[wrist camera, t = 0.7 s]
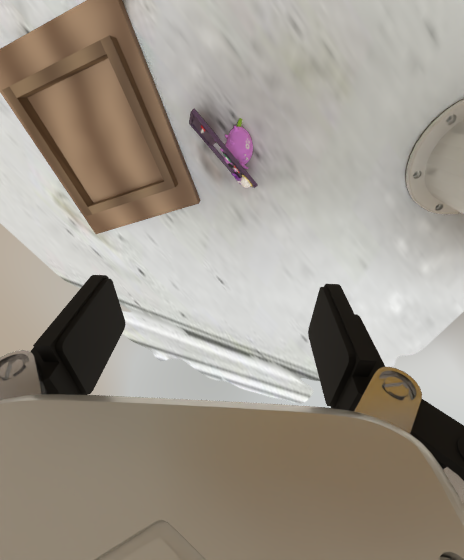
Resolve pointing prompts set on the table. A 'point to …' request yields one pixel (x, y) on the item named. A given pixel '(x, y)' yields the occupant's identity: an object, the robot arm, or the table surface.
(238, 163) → the purple figure with panel
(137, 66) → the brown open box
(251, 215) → the table surface
